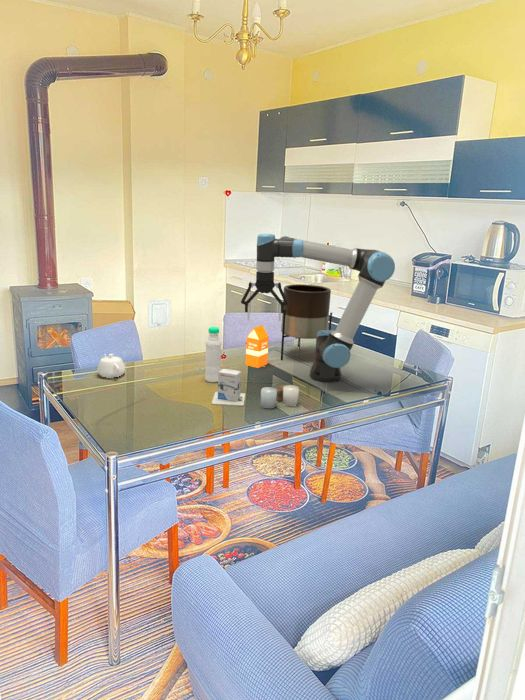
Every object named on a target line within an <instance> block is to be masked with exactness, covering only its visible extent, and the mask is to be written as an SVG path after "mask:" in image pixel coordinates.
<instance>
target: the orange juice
mask: <svg viewBox="0 0 525 700" xmlns="http://www.w3.org/2000/svg"><path fill="white" fill-rule="evenodd" d="M268 352H269V334H268V333H267V331H266V328H265V327H264V325H263V324H262V325H258V326H255V327H253V328H252V329H251V331H250V332H249V334H248V335H247V336H246V346H245V365H246V366H249V367H252V368H257V369H259V368H261V367H263V366H266V365H268V357H269V356H268V355H269V353H268Z"/></svg>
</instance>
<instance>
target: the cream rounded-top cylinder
mask: <svg viewBox="0 0 525 700" xmlns="http://www.w3.org/2000/svg"><path fill="white" fill-rule="evenodd" d="M283 386H284V387H283V401H281V402H282V403H281V404H282V405H283V404H285V405H288V406H287V407H290V406H293V407H295V406H294V405H297V404H299V393H300V392H299V391H300V388H299V386H296V385H292V384H286V385H283ZM285 405H284V406H285ZM297 406H298V405H297Z"/></svg>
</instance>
